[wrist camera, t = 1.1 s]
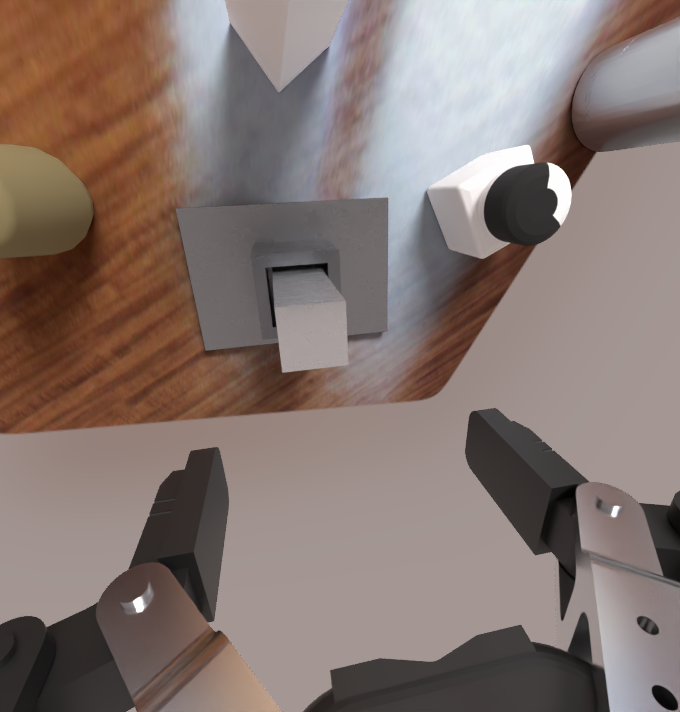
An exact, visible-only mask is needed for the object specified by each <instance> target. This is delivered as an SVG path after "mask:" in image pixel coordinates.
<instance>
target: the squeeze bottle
mask: <svg viewBox="0 0 680 712" xmlns="http://www.w3.org/2000/svg"><path fill="white" fill-rule="evenodd" d="M93 215H94V209H93V201H92V198H91V196H90V194H89V192H88V190H87V188H86V187H85V185H84V184H83V183H82V182H81V181H80V180H79V179H78V178H77V177H76V176H75V175H74V174H73V173H72V172H71V171H70V170H69V169H68V168H67V167H66V166H65V165H64V164H63V163H62V162H61V161H60V160H59V159H57V158H55V157H53V156H51V155H49V154H47V153H45V152H43V151H41V150H39V149H37V148H33V147H26V146H18V145H10V144H0V258H13V257H28V256H43V255H55V254H58V253H61V252H65V251H68V250H71V249H73V248H74V247H75V246H76V245H77V244H78V243H79V242H81V241H82V240H83V239H84V238H85V237H86V234H87V232H88V229H89V227H90V224H91V221H92V218H93Z"/></svg>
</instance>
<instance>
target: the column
mask: <svg viewBox="0 0 680 712" xmlns="http://www.w3.org/2000/svg"><path fill="white" fill-rule="evenodd" d="M272 276H273V293H274V308H275V317H276V325H277V333H278V341H279V349H280V358H281V366H282V373H284V372H293V371H301V370H309V369H318V368H326V367H335V366H343V365H348V342H347V317H346V300H345V299H344V298H343V296H342V295H341V294H340V292H339V291H338V290H337V289H336V287H335V286H334V285H333V283H332V282H331V281H330V279H329V278H328V277H327V275H326V274H325V273H324V271H323V270H322V269H321V267H320V266H319V265H318V264H306V265H293V266H280V267H272Z"/></svg>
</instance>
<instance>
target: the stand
mask: <svg viewBox="0 0 680 712" xmlns="http://www.w3.org/2000/svg"><path fill="white" fill-rule="evenodd" d="M176 213H177V218H178V222H179V227H180V232H181V237H182V241H183V246H184V251H185V256H186V260H187V265H188V270H189V275H190V279H191V284H192V289H193V293H194V298H195V303H196V308H197V312H198V317H199V322H200V327H201V331H202V336H203V341H204V346H205V350H206V351H207V350H216V349H226V348H235V347H244V346H254V345H263V344H273V343H279V341H278V333H277V325H276V317H275V308H274V293H273V276H272V267H280V266H293V265H306V264H318V265H319V266H320V267H321V269H322V270H323V271H324V273H325V274H326V275H327V277H328V278H329V279H330V281H331V282H332V283H333V285H334V286H335V287H336V289H337V290H338V291H339V292H340V294H341V295H342V296H343V298H344V299H345V300H346V317H347V335H357V334H366V333H375V332H385V331H387V285H388V198H370V199H350V200H331V201H311V202H292V203H273V204H253V205H234V206H215V207H195V208H177V209H176Z"/></svg>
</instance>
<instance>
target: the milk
mask: <svg viewBox="0 0 680 712" xmlns="http://www.w3.org/2000/svg"><path fill="white" fill-rule="evenodd" d="M225 2H226V7H227V12H228V16H229V21H230V23H231V25H232V26H233V28H234V29H235V31H236V32H237V33H238V35H239V36H240V38H241V39H242V41H243V42H244V44H245V45H246V46H247V48H248V49H249V51H250V52H251V54H252V55H253V57H254V58H255V59H256V61H257V62H258V64H259V65H260V67H261V68H262V70H263V71H264V73H265V74H266V75H267V77H268V78H269V80H270V81H271V83H272V84H273V86H274V87H275V88H276V90H277V91H278V92H280V91H281V90H282V89H284V88H285V87H286V86H287V85H288V84H289V83H290V82H291V81H292V80H293V79H294V78H295V77H296V76H297V75H299V74H300V73H301V72H302V71H303V70H304V69H305V68H306V67H307V66H308V65H309V64H310V63H311V62H313V61H314V60H315V59H316V58H317V57H318V56H319V55H320V54H321V53H322V52H323V51H324V50H325V49H327V48H328V47H329V46H330V44H331V42H332V39H333V37H334V35H335V32H336V30H337V27H338V25H339V22H340V20H341V17H342V15H343V13H344V10H345V8H346V5H347V3H348V0H225Z"/></svg>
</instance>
